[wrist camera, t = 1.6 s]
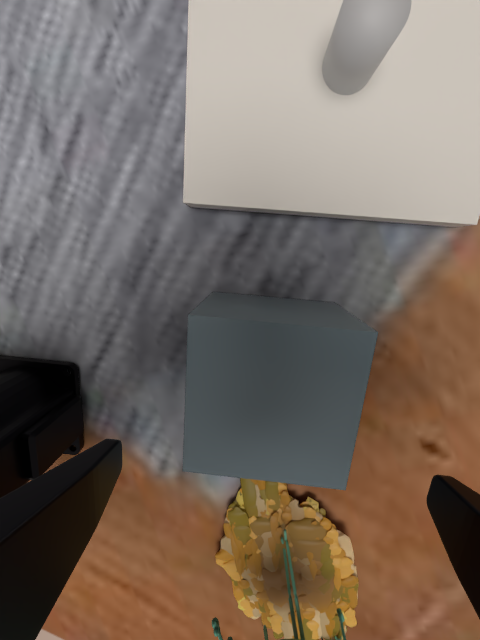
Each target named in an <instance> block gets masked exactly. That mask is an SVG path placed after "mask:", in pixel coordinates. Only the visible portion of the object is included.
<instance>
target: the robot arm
mask: <svg viewBox="0 0 480 640" xmlns="http://www.w3.org/2000/svg"><path fill="white" fill-rule="evenodd" d="M67 369H69V370H70V372H71V373H69V372H68V371H67ZM83 431H84V429H83V414H82V399H81V397H80V384H79V370H78V367H77V366H76V365H75V364H73V363H70V362H60V361H50V360H40V359H30V358H20V357H10V356H1V355H0V640H35V639H36V637H37V636H38V634H39V632H40V630H41V628H42V627H43V625H44V623H45V621H46V619H47V617H48V616H49V614H50V612H51V610H52V608H53V606H54V605H55V603H56V601H57V599H58V597H59V595H60V594H61V592H62V590H63V588H64V586H65V584H66V583H67V581H68V579H69V577H70V575H71V573H72V572H73V570H74V568H75V566H76V564H77V563H78V561H79V559H80V557H81V555H82V553H83V552H84V550H85V548H86V546H87V544H88V542H89V541H90V539H91V537H92V535H93V533H94V531H95V529H96V527H97V525H98V523H99V521H100V518H101V516H102V514H103V512H104V509H105V507H106V505H107V502H108V500H109V498H110V495H111V493H112V491H113V488H114V486H115V484H116V481H117V479H118V477H119V475H120V472H121V469H122V443H121V441H120V440H115V439H105V440H103V441H102V442H100V443H98V444H96V445H94V446H93V447H91V448H89V449H87V450H85V451H84V452H82V453H80V454H78V453H79V452H80V451H81V450H82V448H83ZM73 445H74V446H75V447H74V446H73ZM62 454H71V455H76V454H78V455H77V456H75V457H73V458H71V459H69V460H68V461H66V462H64V463H62V464H60V465H59V466H57V467H55V468H53V469H51V470H50V471H48V472H46V473H44V472H45V471H46V470H47V469H48V468H49V467H50V466H51V465H52V464H53V463H54V462H55V461H56V460H57V459H58V458H59V457H60V456H61V455H62ZM43 473H44V474H43ZM29 480H32V481H30V482H28V481H29ZM27 482H28V483H27ZM427 506H428V509H429V512H430V514H431V516H432V519H433V521H434V523H435V526H436V528H437V530H438V533H439V535H440V538H441V540H442V542H443V545H444V547H445V549H446V552H447V554H448V556H449V559H450V561H451V563H452V566H453V568H454V570H455V572H456V574H457V576H458V578H459V580H460V582H461V584H462V586H463V588H464V590H465V592H466V594H467V596H468V598H469V600H470V602H471V603H472V605H473V607H474V609H475V611H476V613H477V615H478V617H479V619H480V494H478V493H476V492H475V491H473V490H472V489H470V488H469V487H467V486H466V485H464V484H462V483H461V482H459V481H458V480H456V479H455V478H453V477H451V476H445V475H435V476H434V477H433V478H432V481H431V485H430V488H429V492H428V495H427Z"/></svg>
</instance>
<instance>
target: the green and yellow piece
mask: <svg viewBox="0 0 480 640" xmlns="http://www.w3.org/2000/svg"><path fill="white" fill-rule="evenodd" d="M240 481H241V488H240V491H238V493H237V497H236V500H235V501H234V502H233V503H232V504H230V505H229V508H228V509H227V514H226V519H225V523H224V525H223V527H224V532H225V535H224V536H223V537H222V539H221V548H220V551H218V552H217V553H216V555H215V558H216V563H217V564H218V565H219V566H221V567H223V568H224V569H225V571H226V572H227V574H228V575H229V576H230V578H231V580H232V584H233V593H234V596H235V599H236V601H237V602H238V608H239V609H241V610H243V612H244V614H245V615H246V616H247V617H249V618H250V617H251V618H253V619H257V618H258V617H260V616H261V618H262V620H261V621H262V622H263V624H264V629H263V630H264V636H265V640H268V634H267V628H270V629H271V628H272V629H273V634H274V637H275V638H276V639H279V638H282V637H283V636H284V638H285V639H281V640H319V639H320V638H321V639H322V640H323V638H324V639H325V640H346V637H345V634H346V631H347V627H346V625H347V626H349V627H354V626H356V625H357V621H356V618H355V611H354V608H355V607H356V606H357V604H358V601H357V599H358V594H357V593H358V582H359V580H358V577H357V571H356V566H355V565H354V554H353V548H352V544H351V541H350V538H349V537H348V536H346V535H345V534H344V533H342V532H341V531H339V530H337V529H336V527H335V525H334V524H332V523H331V521H330V520H329V519H328V518H325V515H326V511H325V509H322V508H321V509H319V504H318V502H316V501H315V500H313V499H311V498H310V497H308V498H307V500H306V501H303V502H302V503H300V504H299V505H298V502H299V500H297V499H294V498H293V497H291V496H290V495H289V493H288V491H287V485H286V483H280V482H271V481H263V480H254V479H245V478H241V479H240ZM351 608H352V609H351ZM263 624H262V625H263ZM212 626H213V628H214V635H215V636H218V638H219V640H223V639H222V636H221V633H220V627H219V621H218V619H217V618H216V617H215V618H213V620H212ZM322 637H323V638H322ZM228 640H233V639H232V637H231V636H230V637H228Z"/></svg>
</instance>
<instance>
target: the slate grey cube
mask: <svg viewBox="0 0 480 640" xmlns="http://www.w3.org/2000/svg"><path fill="white" fill-rule="evenodd" d="M377 335H378V332H377V331H376V330H374V329H373V328H371V327H370V326H368V325H367V324H365V323H364V322H363V321H361V320H360V319H358V318H357V317H355V316H354V315H352V314H351V313H350V312H348V311H347V310H345V309H344V308H342V307H341V306H339V305H338V304H336V303H335V302H323V301H312V300H301V299H289V298H278V297H267V296H255V295H244V294H233V293H221V292H212V293H211V294H210V295H209V296H208V297H207V298H206V299H205V300H204V301H202V302H201V303H200V304H199V305H198V306H197V307H196V308H195V309H194V310H193V311H192V312H191V313H189V314H188V332H187V360H186V389H185V417H184V446H183V471H185V472H194V473H202V474H211V475H220V476H228V477H237V478H245V479H254V480H263V481H271V482H280V483H288V484H297V485H306V486H314V487H323V488H331V489H340V490H346V485H347V480H348V476H349V471H350V466H351V461H352V456H353V451H354V447H355V442H356V437H357V432H358V427H359V422H360V418H361V413H362V408H363V403H364V398H365V393H366V388H367V384H368V379H369V374H370V369H371V364H372V359H373V355H374V350H375V345H376V340H377Z"/></svg>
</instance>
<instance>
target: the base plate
mask: <svg viewBox="0 0 480 640" xmlns="http://www.w3.org/2000/svg"><path fill="white" fill-rule="evenodd" d="M183 203H184V204H186V205H188V206H189V207H195V208H208V209H222V210H235V211H248V212H261V213H274V214H288V215H301V216H314V217H327V218H340V219H354V220H367V221H380V222H393V223H406V224H420V225H433V226H446V227H462V226H471V225H477V223H478V219H479V215H480V0H189V10H188V46H187V82H186V118H185V154H184V190H183Z"/></svg>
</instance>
